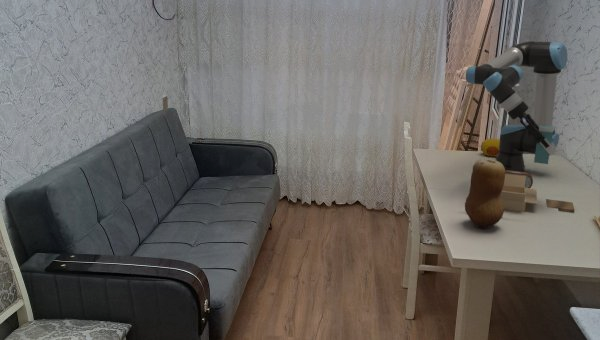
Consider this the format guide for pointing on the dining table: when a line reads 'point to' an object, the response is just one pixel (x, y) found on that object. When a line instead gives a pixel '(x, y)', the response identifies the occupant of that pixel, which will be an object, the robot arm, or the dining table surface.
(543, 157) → the teal box
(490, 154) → the lantern
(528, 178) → the tin
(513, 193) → the carton
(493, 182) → the butternut squash
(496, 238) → the dining table surface
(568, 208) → the walnut board
